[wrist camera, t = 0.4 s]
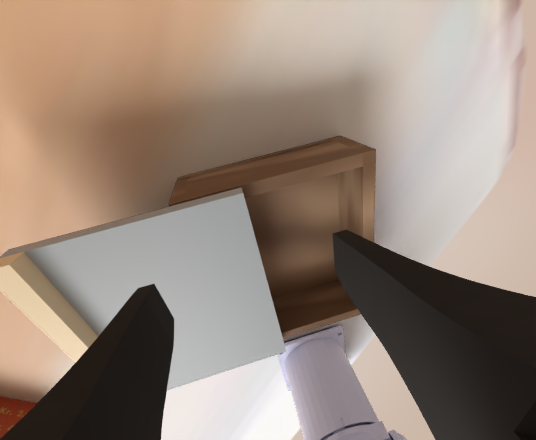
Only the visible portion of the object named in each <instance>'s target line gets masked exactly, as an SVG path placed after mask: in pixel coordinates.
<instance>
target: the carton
mask: <svg viewBox="0 0 536 440" xmlns="http://www.w3.org/2000/svg"><path fill="white" fill-rule="evenodd" d="M36 404H37V403H31V402H26V401H21V400H15V399H10V398H4V397H0V438H1V437H3V436H4V435H5V434H6V433H7V432H8V431H9V430H10V429H11V428H12V427H13V426H14V425H15V424H16V423H18V422H19V421H20V420H21V419H22V418H23V417H24V416H25V415H26V414H27V413H28V412H29V411H30V410H31V409H32V408H33V407H34V406H35V405H36Z"/></svg>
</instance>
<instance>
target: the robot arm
mask: <svg viewBox="0 0 536 440" xmlns="http://www.w3.org/2000/svg"><path fill="white" fill-rule="evenodd" d="M332 236H333V250H334V265H335V272H336V274H337V276H338V278H339V280H340V282H341V284H342V286H343V288H344V289H345V291H346V293H347V294H348V296H349V297H350V299H351V300H352V302H353V303H354V305H355V306H356V307H357V309H358V310H359V312H360V313H361V314H362V316H363V317H364V319H365V320H366V322H367V323H368V324H369V326H370V327H371V329H372V330H373V331H374V333H375V334H376V336H377V337H378V338H379V340H380V341H381V343H382V344H383V346H384V347H385V349H386V351H387V352H388V354H389V356H390V358H391V359H392V361H393V363H394V364H395V366H396V368H397V370H398V371H399V373H400V375H401V377H402V378H403V380H404V382H405V384H406V385H407V387H408V389H409V391H410V393H411V394H412V396H413V398H414V400H415V402H416V404H417V405H418V407H419V409H420V411H421V413H422V415H423V417H424V418H425V420H426V422H427V424H428V426H429V428H430V430H431V432H432V434H433V435H434V437H435V439H436V440H536V297H533V296H528V295H524V294H520V293H516V292H511V291H507V290H503V289H500V288H496V287H492V286H489V285H485V284H481V283H477V282H474V281H471V280H467V279H464V278H461V277H458V276H455V275H452V274H449V273H446V272H443V271H440V270H437V269H434V268H432V267H429V266H426V265H424V264H421V263H419V262H416V261H414V260H411V259H409V258H406V257H404V256H402V255H400V254H397V253H395V252H393V251H391V250H388V249H386V248H384V247H382V246H380V245H378V244H376V243H374V242H372V241H370V240H368V239H365V238H363V237H361V236H359V235H357V234H355V233H353V232H351V231H349V230H343V231H339V232H336V233H332ZM284 345H285V348H286V352H283V353H280V354H277V355H278V358H279V362H280V365H281V368H282V372H283V375H284V378H285V381H286V385H287V388H288V390H289V391H291V393H292V396H293V400H294V404H295V408H296V411H297V415H298V419H299V423H300V426H301V430H302V434H303V438H304V440H407V439H406V438H405V437H404V436H403V435H401V434H399V433H397V432H396V431H395V430H392V431H389V433H388V432H387V430H386V428H385V427H384V424H383V423H382V421H379V420H378V418H377V416H376V414H375V412H374V410H373V408H372V406H371V404H370V402H369V400H368V398H367V396H366V394H365V392H364V390H363V388H362V386H361V384H360V382H359V380H358V379H357V376H356V374H355V373H354V370H353V368H352V367H351V365H350V363H349V361H348V359H347V357H346V355H345V344H344V330H343V328H342V326H336V327H333V328H330V329H327V330H324V331H320V332H317V333H314V334H311V335H308V336H305V337H302V338H299V339H296V340H293V341H289V342H286V343H284ZM173 346H174V317H173V316H172V314H171V312H170V310H169V309H168V307H167V305H166V303H165V302H164V300H163V298H162V296H161V295H160V293H159V291H158V289H157V288H156V286H155V284H151V285H147V286H144V287H140V288H138V289H137V290H136V291H135V292H134V293H133V294H132V296H131V297H130V298H129V299H128V300H127V302H126V303H125V304H124V305H123V307H122V308H121V309H120V310H119V312H118V313H117V314H116V315H115V317H114V318H113V319H112V320H111V322H110V323H109V324H108V325H107V327H106V328H105V329H104V330H103V331H102V333H101V334H100V335H99V336H98V338H97V339H96V340H95V341H94V342H93V343H92V345H91V346H90V347H89V348H88V349H87V350H86V351H85V353H84V354H83V355H82V356H81V357H80V358H79V359H78V361H77V362H76V363H75V364H74V365H73V366H72V367H71V369H70V370H69V371H68V372H67V373H66V374H65V375H64V376H63V377H62V378H61V379H60V381H59V382H58V383H57V384H56V385H55V386H54V387H53V388H52V389H51V390H50V391H49V392H48V393H47V394H46V395H45V396H44V397H43V398H42V399H41V400H40V401H39V402H38V403H37V404H36V405H35V406H34V407H33V408H32V409H31V410H30V411H29V412H28V413H27V414H26V415H25V416H24V417H23V418H22V419H21V420H20V421H19V422H18V423H16V424H15V425H14V426H13V427H12V428H11V429H10V430H9V431H8V432H7V433H6V434H5V435H4V436H3V437H1V438H0V440H161V428H162V419H163V410H164V404H165V398H166V391H167V385H168V379H169V373H170V366H171V360H172V353H173Z"/></svg>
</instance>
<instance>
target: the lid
mask: <svg viewBox="0 0 536 440" xmlns="http://www.w3.org/2000/svg"><path fill="white" fill-rule="evenodd" d="M151 284H155V286H156V288H157V289H158V291H159V293H160V295H161V296H162V298H163V300H164V302H165V303H166V305H167V307H168V309H169V310H170V312H171V314H172V316H173V317H174V346H173V353H172V360H171V366H170V373H169V379H168V385H167V390H169V389H172V388H175V387H179V386H182V385H185V384H188V383H191V382H194V381H197V380H200V379H203V378H206V377H209V376H212V375H215V374H218V373H222V372H225V371H228V370H231V369H234V368H237V367H240V366H243V365H246V364H249V363H252V362H255V361H258V360H261V359H265V358H268V357H271V356H274V355H277V354H280V353H283V352H286V348H285V345H284V341H283V337H282V334H281V330H280V326H279V323H278V319H277V315H276V312H275V308H274V304H273V301H272V297H271V293H270V289H269V286H268V282H267V278H266V275H265V271H264V267H263V264H262V260H261V256H260V253H259V249H258V245H257V242H256V238H255V234H254V231H253V227H252V223H251V220H250V216H249V212H248V209H247V205H246V201H245V198H244V194H243V191H242V187H241V188H237V189H233V190H230V191H226V192H222V193H218V194H215V195H211V196H207V197H203V198H200V199H196V200H192V201H188V202H185V203H181V204H177V205H173V206H170V207H166V208H162V209H158V210H155V211H151V212H147V213H143V214H140V215H136V216H132V217H129V218H125V219H121V220H117V221H114V222H110V223H106V224H102V225H99V226H95V227H91V228H87V229H84V230H80V231H76V232H72V233H69V234H65V235H61V236H57V237H54V238H50V239H46V240H42V241H39V242H35V243H31V244H27V245H24V246H20V247H16V248H12V249H9V250H8V251H6V252H5V253H4V254H3V255H2V256H0V292H1V293H3V294H4V295H5V296H6V297H7V298H8V299H9V300H10V301H11V302H12V303H13V304H14V305H15V306H16V307H17V308H18V309H19V310H20V311H21V312H22V313H23V314H25V315H26V316H27V317H28V318H29V319H30V320H31V321H32V322H33V323H34V324H35V325H36V326H37V327H38V328H39V329H40V330H41V331H42V332H43V333H44V334H46V335H47V336H48V337H49V338H50V339H51V340H52V341H53V342H54V343H55V344H56V345H57V346H58V347H59V348H60V349H61V350H62V351H63V352H64V353H65V354H66V355H68V356H69V357H70V358H71V359H72V360H73V361H74V362H75V363H76V362H77V361H78V359H79V358H80V357H81V356H82V355H83V354H84V353H85V351H86V350H87V349H88V348H89V347H90V346H91V345H92V343H93V342H94V341H95V340H96V339H97V338H98V336H99V335H100V334H101V333H102V331H103V330H104V329H105V328H106V327H107V325H108V324H109V323H110V322H111V320H112V319H113V318H114V317H115V315H116V314H117V313H118V312H119V310H120V309H121V308H122V307H123V305H124V304H125V303H126V302H127V300H128V299H129V298H130V297H131V296H132V294H133V293H134V292H135V291H136V290H137V289H138V288H140V287H144V286H147V285H151Z"/></svg>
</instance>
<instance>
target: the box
mask: <svg viewBox="0 0 536 440" xmlns="http://www.w3.org/2000/svg"><path fill="white" fill-rule="evenodd" d="M375 163H376V149H373V148H371V147H368V146H365V145H363V144H360V143H358V142H355V141H353V140H350V139H348V138H345V137H342V136H337V137H334V138H330V139H326V140H322V141H318V142H314V143H310V144H306V145H303V146H299V147H295V148H291V149H287V150H283V151H279V152H275V153H272V154H268V155H264V156H260V157H256V158H252V159H248V160H244V161H241V162H237V163H233V164H229V165H225V166H221V167H217V168H213V169H210V170H206V171H202V172H198V173H194V174H190V175H186V176H182V177H179V178H177V181H176V184H175V187H174V190H173V193H172V196H171V199H170V202H169V207H170V206H173V205H177V204H181V203H185V202H188V201H192V200H196V199H200V198H203V197H207V196H211V195H215V194H218V193H222V192H226V191H230V190H233V189H237V188H241V187H242V191H243V194H244V198H245V201H246V205H247V209H248V212H249V216H250V220H251V223H252V227H253V231H254V234H255V238H256V242H257V245H258V249H259V253H260V256H261V260H262V264H263V267H264V271H265V275H266V278H267V282H268V286H269V289H270V293H271V297H272V301H273V304H274V308H275V312H276V315H277V319H278V323H279V326H280V330H281V334H282V337H283V339H285V338H288V337H291V336H294V335H297V334H301V333H304V332H307V331H310V330H313V329H316V328H319V327H322V326H326V325H329V324H332V323H335V322H338V321H341V320H344V319H347V318H350V317H354V316H357V315H360V314H361V313H360V312H359V310H358V309H357V307H356V306H355V305H354V303H353V302H352V300H351V299H350V297H349V296H348V294H347V293H346V291H345V289H344V288H343V286H342V284H341V282H340V280H339V278H338V276H337V274H336V272H335V265H334V250H333V236H332V233H336V232H339V231H343V230H349V231H351V232H353V233H355V234H357V235H359V236H361V237H363V238H365V239H368V240H370V241H372V242H374V206H375Z"/></svg>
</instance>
